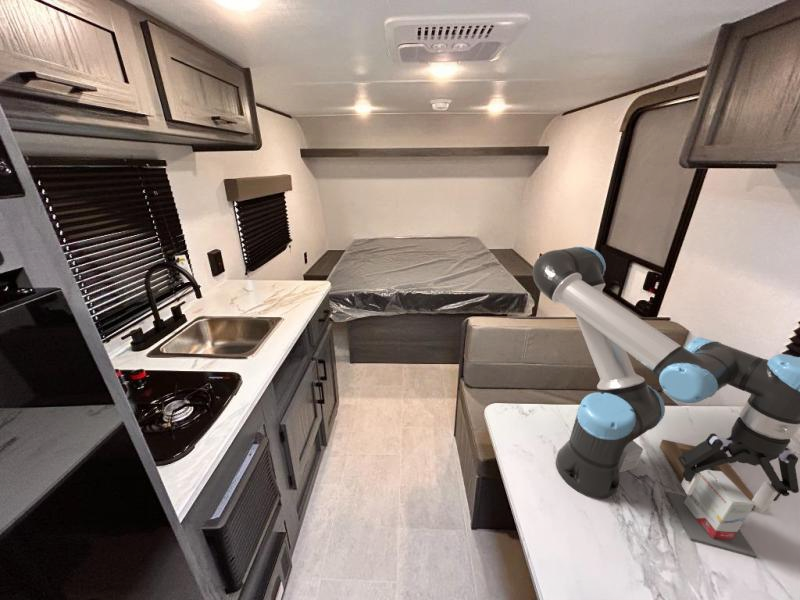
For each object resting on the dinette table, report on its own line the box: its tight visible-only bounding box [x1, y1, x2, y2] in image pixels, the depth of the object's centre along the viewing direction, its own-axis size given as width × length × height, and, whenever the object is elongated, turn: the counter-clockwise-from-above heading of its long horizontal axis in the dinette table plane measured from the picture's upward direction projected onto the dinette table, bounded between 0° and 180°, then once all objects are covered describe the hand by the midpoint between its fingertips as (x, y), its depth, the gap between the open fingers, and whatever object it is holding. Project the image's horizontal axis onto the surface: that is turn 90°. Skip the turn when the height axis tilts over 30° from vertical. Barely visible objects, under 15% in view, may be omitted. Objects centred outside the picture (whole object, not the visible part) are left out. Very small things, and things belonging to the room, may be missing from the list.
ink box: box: [684, 469, 754, 539], centre depth 73 cm, size 9×5×12 cm, turn 176°
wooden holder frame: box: [659, 439, 756, 511], centre depth 87 cm, size 14×16×3 cm
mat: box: [665, 490, 758, 558], centre depth 76 cm, size 12×12×1 cm
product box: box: [618, 440, 644, 473], centre depth 90 cm, size 6×6×7 cm
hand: (720, 498), depth 73 cm, fingers open, 13 cm apart
